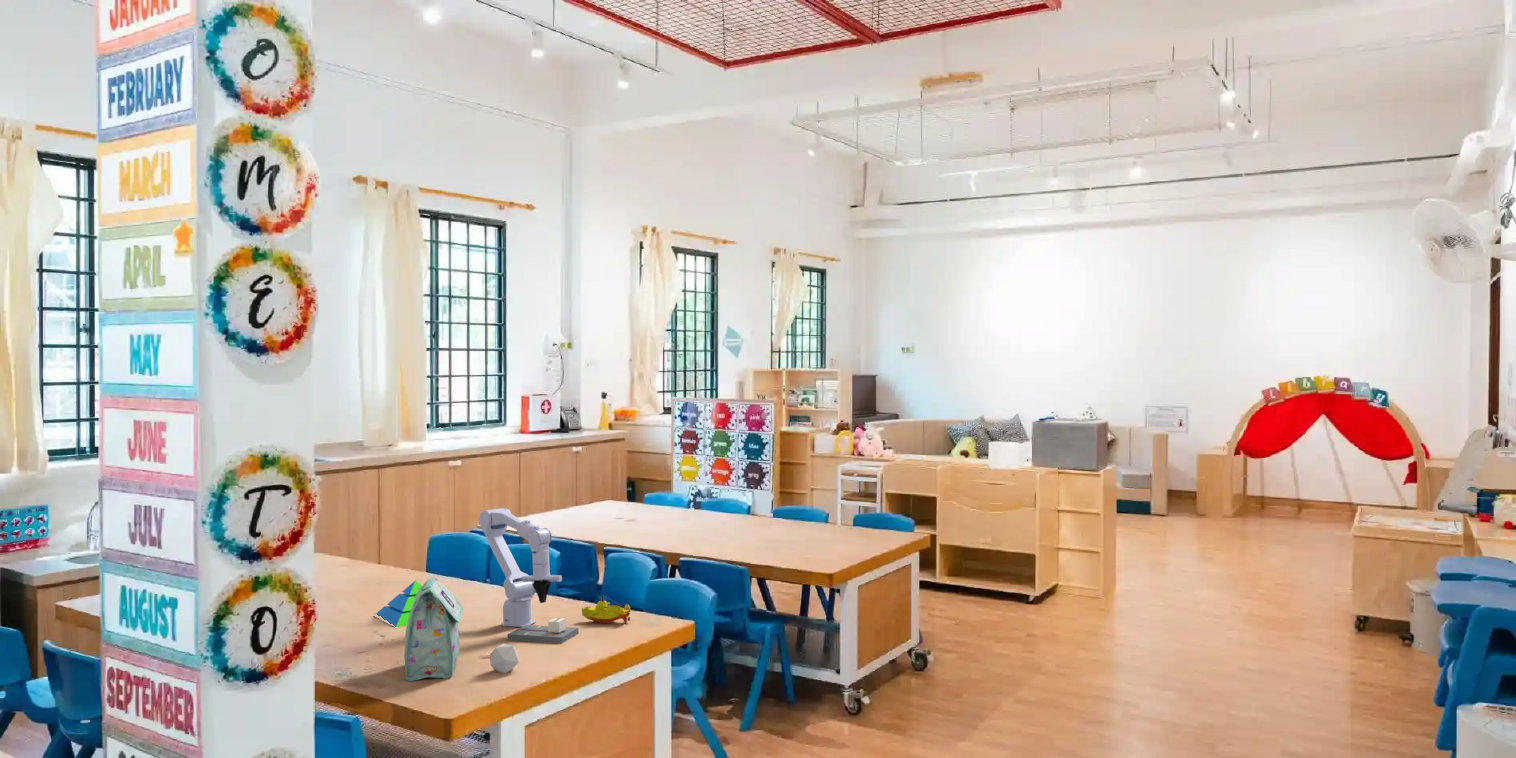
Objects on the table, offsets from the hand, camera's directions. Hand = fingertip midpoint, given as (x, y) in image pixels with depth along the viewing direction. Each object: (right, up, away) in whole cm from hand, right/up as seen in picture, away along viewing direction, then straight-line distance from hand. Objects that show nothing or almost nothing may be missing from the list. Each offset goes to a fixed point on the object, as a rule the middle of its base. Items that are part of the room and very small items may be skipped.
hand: (542, 602), depth 349 cm
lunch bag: (-23, -10, -47) cm, 53 cm away
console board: (+3, -9, -11) cm, 14 cm away
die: (-1, -10, -50) cm, 51 cm away
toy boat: (+21, -9, +8) cm, 24 cm away
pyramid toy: (-52, -11, +22) cm, 57 cm away
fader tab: (+7, -7, -12) cm, 16 cm away
